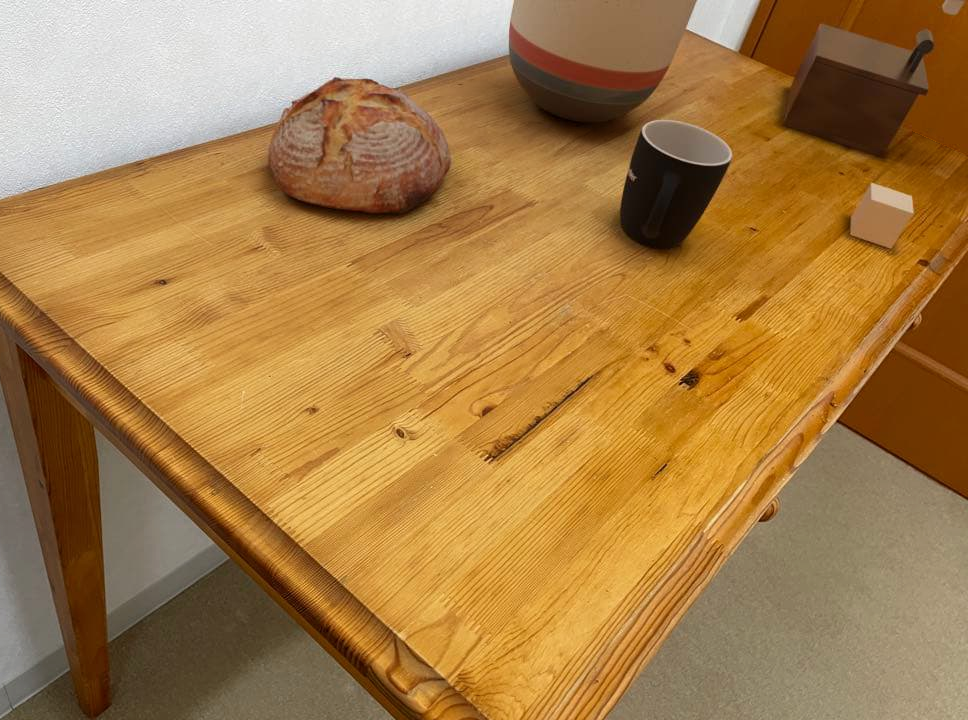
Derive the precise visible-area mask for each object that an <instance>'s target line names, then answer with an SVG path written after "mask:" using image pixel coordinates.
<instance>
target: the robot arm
mask: <svg viewBox="0 0 968 720" xmlns="http://www.w3.org/2000/svg"><path fill="white" fill-rule="evenodd" d="M966 1H967V0H944V2H943V4H942V5H941V7H942V12H943V13H944V14H948V15H951V16H956V15H957V14H958V13H959V12H960V10H961V9H962V7H963V5H964V4H965V2H966Z"/></svg>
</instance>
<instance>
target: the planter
mask: <svg viewBox="0 0 968 720" xmlns="http://www.w3.org/2000/svg"><path fill="white" fill-rule="evenodd" d="M697 1H698V0H513V2H512V8H511V13H510V19H509V28H508V55H509V60H510V66H511V68H512V72H513V74H514V76H515V78H516V80H517V83H518V84H519V86H520V87H521V88H522V90H523V91H524V93H525V94H526V95H527V96H528V97H529V98H530V100H531V101H532V102H534V103H535V104H536V105H537V106H538V107H540V108H541V109H543V110H544V111H546V112H548V113H550V114H551V115H552V114H553V115H554V116H556V117H559V118H562V119H565V120H569V121H573V122H578V123H600V122H601V123H602V122H607V121H611V120H613V119H617V118H620V117H622V116H625V115H626V114H628V113H630V112H632V111H633V110H636V109H637V108H638V107H640V106H641V105H643V104H644V103H645V102H646V101H647V100H648V99H649V98H650V97H651V96H652V94H653V93H654V92H655V91H656V89H657V88H658V87H659V85H660V84H661V82H662V80H663V78H664V77H665V75H666V74H667V72H668V70H669V68H670V66H671V64H672V62H673V59H674V57H675V54H676V53H677V50H678V48H679V46H680V44H681V41H682V39H683V36H684V34H685V31H686V30H687V27H688V25H689V22H690V19H691V17H692V15H693V12H694V9H695V6H696V4H697Z"/></svg>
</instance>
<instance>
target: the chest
mask: <svg viewBox="0 0 968 720" xmlns="http://www.w3.org/2000/svg"><path fill="white" fill-rule="evenodd" d="M817 34H818V29H817V30H816V32H815V34H814V36H813V39H812V41H811V43H810V45H809V47H808V48H807V51H806V53H805V56H804V57H803V59H802V61H801V63H800V66H799V68H798V70H797V72H796V74H795V76H794V77H793V78H794V79H793V80H792V81H791V82H792V83H791V85H790V87H789V90H788V95H787V101H786V105H785V111H784V115H783V122H782V126H783V127H787V128H790V129H793V130H796V131H799V132H802V133H805V134H808V135H810V136H814V137H818V138H821V139H824V140H826V141H830V142H833V143H835V144H839V145H842V146H845V147H848V148H851V149H854V150H857V151H860V152H863V153H866V154H870V155H872V156H876V157H880V158H883V157H884V155H885V154H886V152H887V150H888V148H889V147H890V145H891V143H892V142H893V140H894V138H895V136H896V135H897V134H898V131H899V129H900V127H902V125H903V123H904V121H905V119H906V118H907V116H908V114H909V113H910V111H911V110H912V107H913V106H914V104H915V103H916V100H917V99H918V97H919V95H920V94H918V93H915V92H911V91H908V90H905V89H902V88H899V87H895V86H892V85H889V84H886V83H883V82H879V81H876V80H873V79H870V78H867V77H863V76H860V75H857V74H854V73H851V72H847V71H844V70H841V69H838V68H834V67H831V66H828V65H825V64H822V63H818V62H815V61H814V57H815V50H816V42H817Z"/></svg>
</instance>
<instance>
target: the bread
mask: <svg viewBox="0 0 968 720" xmlns="http://www.w3.org/2000/svg"><path fill="white" fill-rule="evenodd" d="M446 138H447V137H446V136H445V134H444V132H443V130H442V128H441V127H440V126H439V124H438V122H437V121H436V120H435V119H434V118H433V116H432V115H430V114H429V113H428V112H427V111H426V110H425V109H423V108H422V107H421V106H420V105H419V104H417V102H415V101H413V100H412V99H411V98H410V97H409V95H407V94H406V92H405V91H404V90H402V89H401V88H394V87H393V88H392V87H389V86H386V85H384V84H380V83H379V82H377V81H375V80H374V79H372V78H348V77H347V78H341V77H338V76H334V77H333V78H332V79H329V80H328V81H326V82H324V83H323V84H322V85H320V86H319V87H318V88H316V89H314V90H313V91H311V92H307V93H306V94H304V95H302V96H301V97H300V98H297V99H294V100H292V101H291V106H289V107H286V108H285V109H283V111H282V113H281V115H280V118H279V120H278V122H277V123H276V125H275V129H274V131H273V132H272V136H271V138H270V142H269V143H270V144H269V147H268V151H267V152H268V155H267V163H268V166H269V168H270V171H271V173H272V175H273V180H274V181H275V183H276V185H277V187H278V188H279V189H280V190H281V191H282V192H283V193H284V194H287V195H288V196H290V197H292V198H294V199H296V200H298V201H301V202H305V203H307V204H311V205H315V206H318V207H322V208H329V209H334V210H341V211H342V210H343V211H352V212H363V213H366V214H395V215H396V214H398V215H402V214H406V213H407V212H408V211H409V210H411V209H413V208H415V207H417V206H419V205H421V204H422V203H423V202H424V201H426V200H427V199H429V198H430V197H431V196H432V195H433V194H434V193H435V191H436V190H437V189H438V188H439V186H440V185H441V183H442V182H443V180H444V177H445V176H446V175H447V174H448V172H449V171H450V168H451V164H452V158H451V153H450V148H449V144H448V141H447V139H446Z"/></svg>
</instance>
